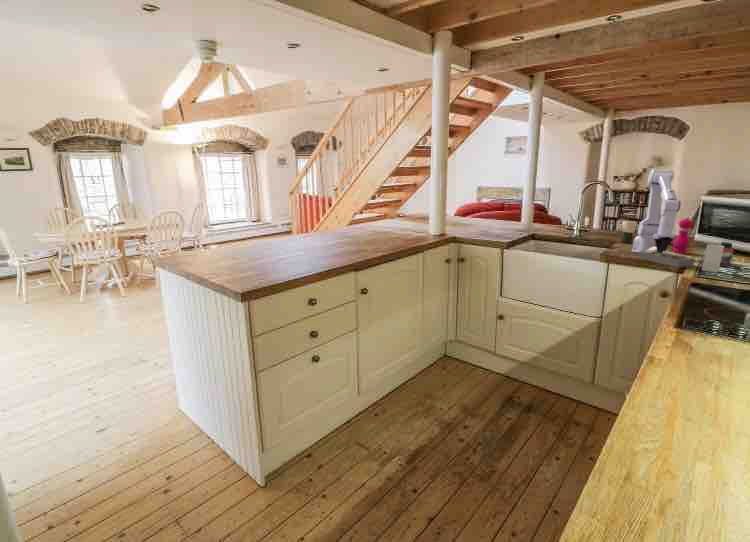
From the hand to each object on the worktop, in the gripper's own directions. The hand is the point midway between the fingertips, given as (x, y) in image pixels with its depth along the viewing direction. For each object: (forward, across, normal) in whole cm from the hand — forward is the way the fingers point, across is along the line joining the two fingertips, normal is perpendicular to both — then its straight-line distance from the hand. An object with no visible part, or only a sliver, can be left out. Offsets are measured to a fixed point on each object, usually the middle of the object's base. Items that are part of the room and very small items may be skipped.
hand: (660, 252), depth 202 cm
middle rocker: (0, +2, 0) cm, 2 cm away
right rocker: (0, +2, -5) cm, 6 cm away
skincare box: (+5, +7, -19) cm, 21 cm away
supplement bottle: (+5, +25, -15) cm, 29 cm away
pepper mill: (+5, +37, +11) cm, 39 cm away
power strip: (+5, +5, 0) cm, 7 cm away
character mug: (+5, +34, +40) cm, 53 cm away
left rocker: (0, +2, +6) cm, 6 cm away
